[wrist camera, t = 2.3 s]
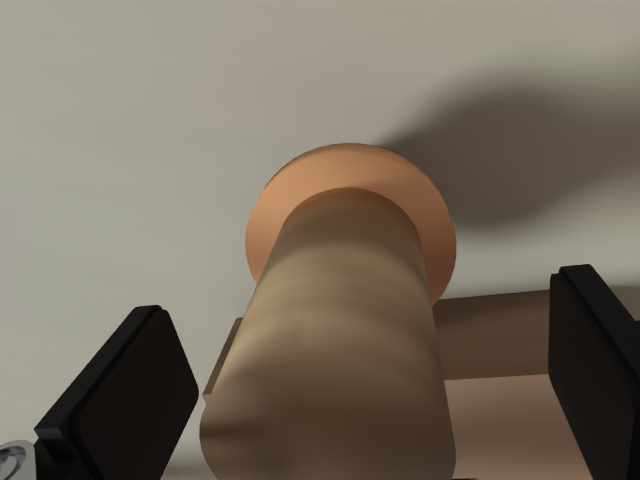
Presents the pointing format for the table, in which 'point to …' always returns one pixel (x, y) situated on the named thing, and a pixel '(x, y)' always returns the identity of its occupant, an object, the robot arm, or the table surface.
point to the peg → (339, 327)
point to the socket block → (496, 389)
